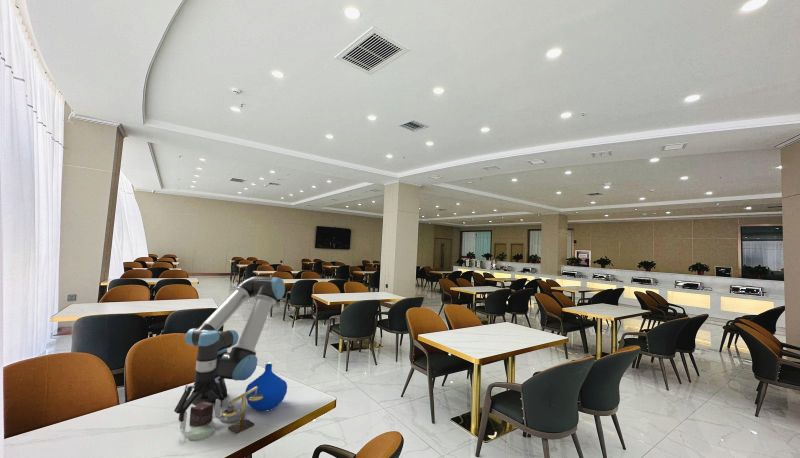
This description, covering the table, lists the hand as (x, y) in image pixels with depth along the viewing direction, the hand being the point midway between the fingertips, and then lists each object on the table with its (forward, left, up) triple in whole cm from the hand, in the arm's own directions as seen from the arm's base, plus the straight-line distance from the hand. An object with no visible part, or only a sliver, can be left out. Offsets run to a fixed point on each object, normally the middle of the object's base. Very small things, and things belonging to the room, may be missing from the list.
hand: (200, 422), depth 134 cm
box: (0, 0, -1) cm, 1 cm away
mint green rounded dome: (+8, -4, -1) cm, 9 cm away
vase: (+8, +25, -1) cm, 26 cm away
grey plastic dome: (+6, +10, -1) cm, 12 cm away
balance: (+16, +8, -1) cm, 18 cm away
